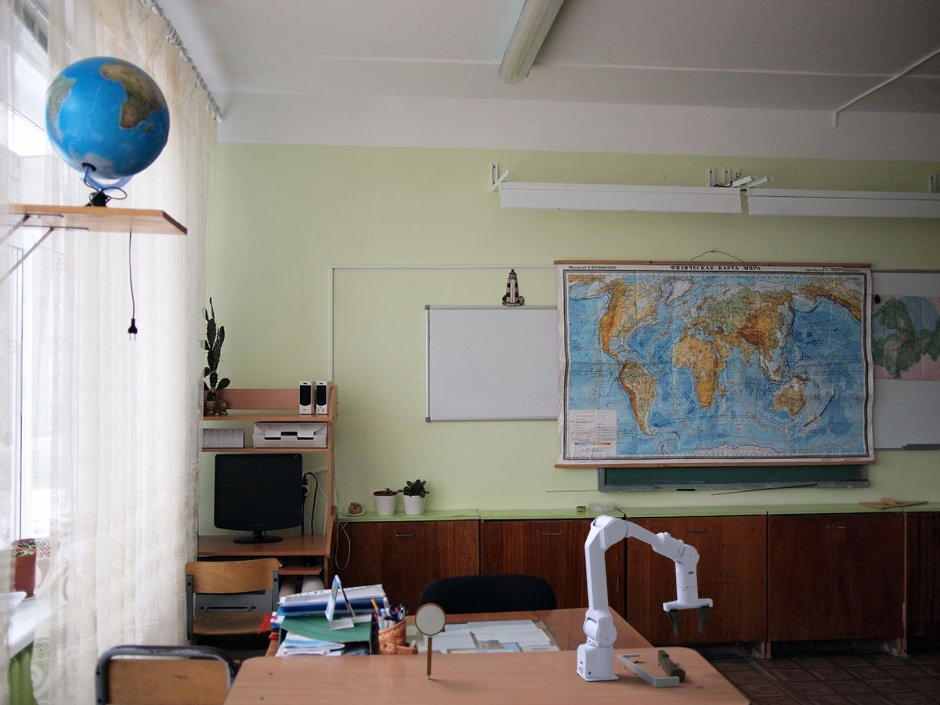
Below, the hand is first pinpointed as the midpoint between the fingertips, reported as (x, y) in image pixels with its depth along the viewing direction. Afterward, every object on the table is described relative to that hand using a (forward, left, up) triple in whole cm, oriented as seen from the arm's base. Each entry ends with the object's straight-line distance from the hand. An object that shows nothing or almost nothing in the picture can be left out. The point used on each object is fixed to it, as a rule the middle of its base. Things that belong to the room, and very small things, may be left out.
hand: (689, 633), depth 238 cm
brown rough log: (-7, 0, -11) cm, 13 cm away
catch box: (-13, 0, -10) cm, 17 cm away
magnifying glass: (-76, +7, -11) cm, 77 cm away
